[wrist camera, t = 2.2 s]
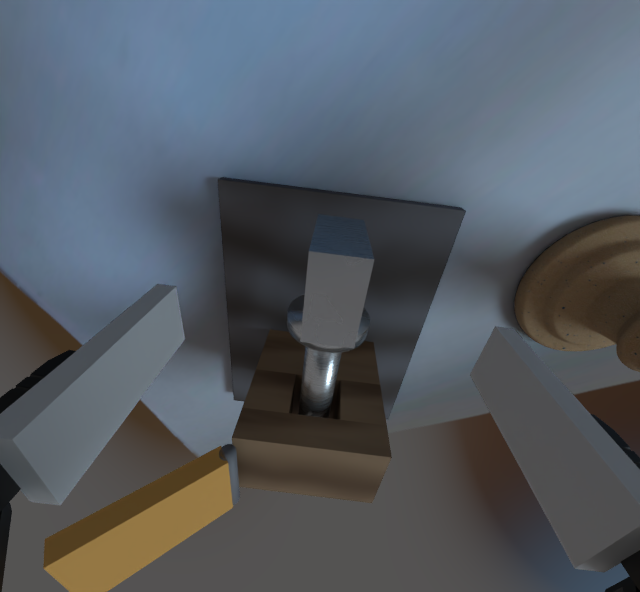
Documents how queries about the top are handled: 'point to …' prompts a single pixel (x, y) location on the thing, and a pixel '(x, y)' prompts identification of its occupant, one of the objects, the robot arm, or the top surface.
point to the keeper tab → (143, 524)
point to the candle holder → (586, 291)
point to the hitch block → (288, 354)
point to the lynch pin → (331, 306)
